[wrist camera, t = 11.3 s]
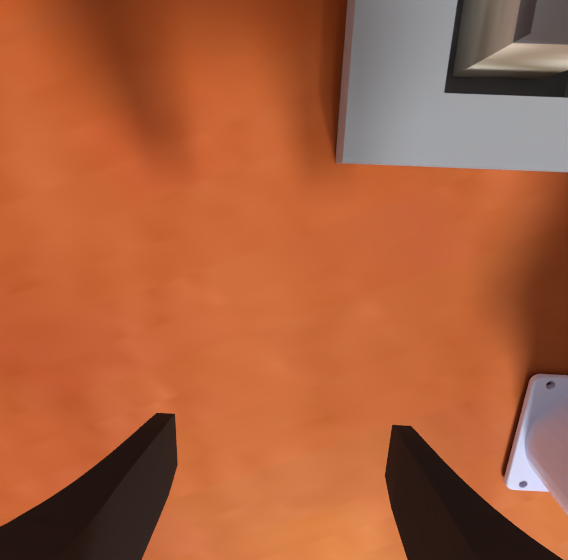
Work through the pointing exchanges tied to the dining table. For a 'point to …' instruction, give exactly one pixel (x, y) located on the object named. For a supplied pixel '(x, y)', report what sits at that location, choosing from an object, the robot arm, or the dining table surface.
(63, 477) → the dining table surface
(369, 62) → the socket board
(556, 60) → the peg
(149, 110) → the dining table surface
